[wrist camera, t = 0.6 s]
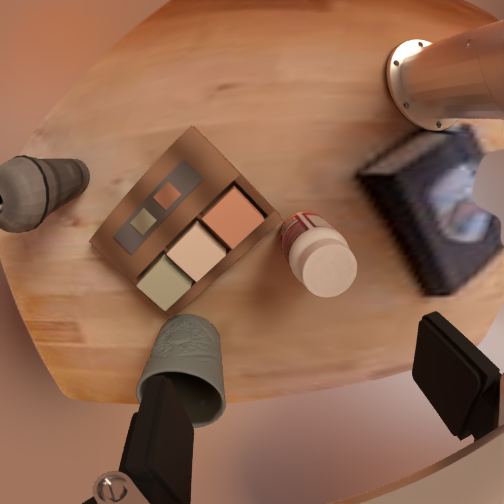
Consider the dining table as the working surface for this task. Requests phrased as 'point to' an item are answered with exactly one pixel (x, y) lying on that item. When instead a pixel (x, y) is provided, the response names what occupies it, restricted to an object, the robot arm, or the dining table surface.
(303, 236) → the pill bottle
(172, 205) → the keypad board
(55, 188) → the beverage cup
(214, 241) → the key cream
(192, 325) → the grey green cup
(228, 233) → the key terracotta
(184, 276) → the key sage
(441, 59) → the robot arm
